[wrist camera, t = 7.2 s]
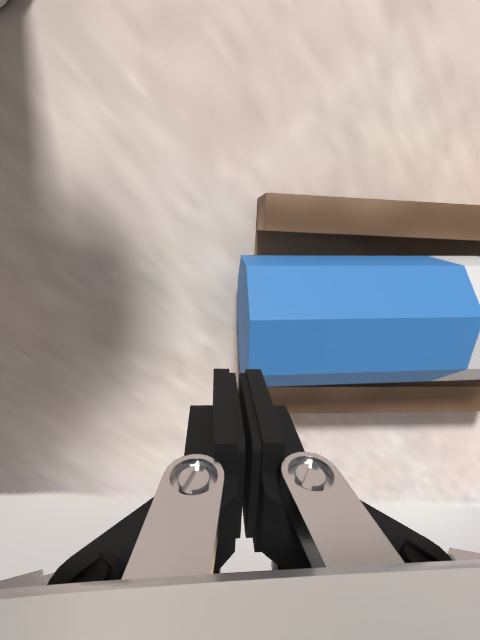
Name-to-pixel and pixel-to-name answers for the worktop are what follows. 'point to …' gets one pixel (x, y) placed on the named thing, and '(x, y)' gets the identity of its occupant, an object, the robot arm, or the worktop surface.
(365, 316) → the water bottle
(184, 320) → the worktop surface
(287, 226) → the u rest
